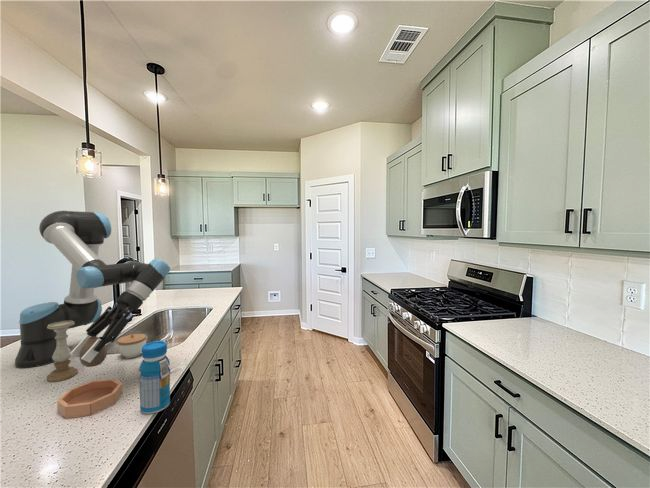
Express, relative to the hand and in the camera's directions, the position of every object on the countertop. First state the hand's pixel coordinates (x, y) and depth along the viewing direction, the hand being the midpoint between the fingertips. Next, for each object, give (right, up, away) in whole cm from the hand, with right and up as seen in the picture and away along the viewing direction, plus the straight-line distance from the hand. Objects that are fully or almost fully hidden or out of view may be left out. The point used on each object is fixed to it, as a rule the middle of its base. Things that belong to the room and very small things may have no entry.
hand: (79, 357), depth 88 cm
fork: (+16, -15, +22) cm, 31 cm away
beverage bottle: (+23, -16, +1) cm, 28 cm away
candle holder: (-23, -15, +19) cm, 33 cm away
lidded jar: (-9, -14, +38) cm, 41 cm away
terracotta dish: (+1, -16, +3) cm, 16 cm away
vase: (+2, -4, +3) cm, 5 cm away
